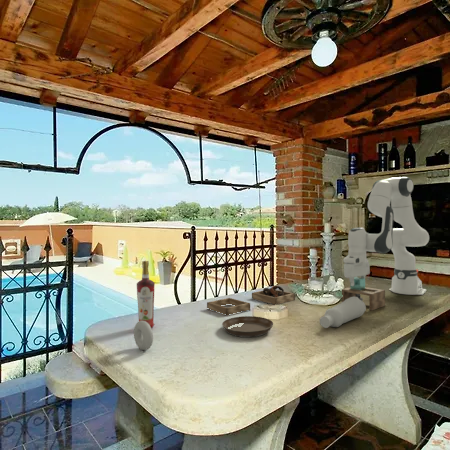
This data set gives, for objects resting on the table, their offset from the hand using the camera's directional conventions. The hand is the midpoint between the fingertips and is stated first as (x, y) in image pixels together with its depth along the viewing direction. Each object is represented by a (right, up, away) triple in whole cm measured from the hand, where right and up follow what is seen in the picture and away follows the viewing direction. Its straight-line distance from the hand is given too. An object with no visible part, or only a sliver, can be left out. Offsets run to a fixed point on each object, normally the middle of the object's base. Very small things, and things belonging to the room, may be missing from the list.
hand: (357, 284), depth 170 cm
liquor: (-103, -12, -35) cm, 109 cm away
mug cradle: (-43, -11, +13) cm, 46 cm away
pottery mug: (-42, -11, +16) cm, 46 cm away
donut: (-98, -12, -58) cm, 115 cm away
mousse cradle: (-68, -11, -8) cm, 70 cm away
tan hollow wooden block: (+2, -10, -2) cm, 11 cm away
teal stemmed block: (0, -8, 0) cm, 8 cm away
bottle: (-20, -11, -31) cm, 38 cm away
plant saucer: (-61, -12, -39) cm, 73 cm away
